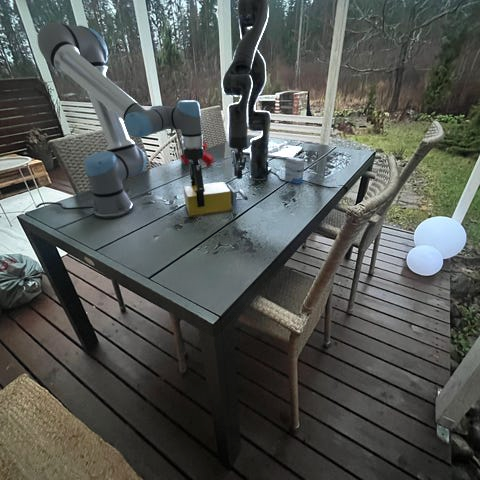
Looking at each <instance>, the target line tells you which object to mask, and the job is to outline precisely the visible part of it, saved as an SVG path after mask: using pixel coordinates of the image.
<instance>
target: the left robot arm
mask: <svg viewBox="0 0 480 480" xmlns="http://www.w3.org/2000/svg"><path fill="white" fill-rule="evenodd" d="M37 45H38V49H39V51H40V53H41V55H42V56H43V58H44V60H46V62H47V63H48V64H49V65H50V66H51V67H53V68H54V69H55V70H56V71H57V72H58V73H60V74H62V75H67V76H68V77H69V78H71V79H72V80H73V81H74V82H76V83H77V85H79V86H80V87H82V88H83V89H84V90H85V91H86V93H87V96H88V98H89V100H90V103H91V105H92V107H93V110H94V112H95V115H96V117H97V120H98V123H99V124H100V127H101V130H102V132H103V134H104V137H105V139H106V142H107V147H106V150H103V151H99V152H94V153H92V154H89V155H88V156H86V157H85V158H84V161H83V166H84V169H85V170H84V171H85V174H86V176H87V179H88V183H89V185H90V188H91V192H92V195H93V205H89V206H74V207H73V206H72V207H65V206H64V204H63V203H61V202H55V201H53V202H52V201H45V202H41V203H39V204H37V205H36V206H35V209H39V208H40V207H41V206H43V205H44V206H45V205H57V206H58V205H59V206H60V207H61V209H63V210H70V211H71V210H80V209H81V210H82V209H83V210H84V209H93V213H94V216H95V217H96V218H98V219H103V220H104V219H105V220H109V219H116V218H120V217H124V216H126V215H128V214H130V213H131V212H132V211H133V210H134V206H133V202H132V201H131V199H130V198H129V197H128V195H127V192H126V191H125V188H124V185H123V182H125V181H127V180H129V179H131V178H133V177H136V176H138V175H140V174H141V173H143V172H144V170H145V169H146V167H147V156H146V154H145V152H144V151H143V149H141V148H140V147H139V146H137V145H136V143H135V141H134V140H132V139H131V138H130V136H131V137H133V138H137V139H140V138H144V137H150V136H151V135H153V134H157V133H159V132H163V131H166V130H180V135H181V138H180V142H181V143H182V147H183V148H182V152H183V153H184V158H185V159H188V160H189V163H188V167H189V168H188V169H189V171H188V172H189V178H190V186H193V185H196V189H197V191H195V193H196V195H197V204H198V207H203V206H205V204H204V191H205V190H204V184H205V183H204V178H203V170H202V164H201V162H200V160H202V159H201V158H203V157H204V152H203V147H202V146H203V140H204V139H203V131H202V130H203V129H202V113H201V107H200V103H199V102H198V101H197V100H194V99H190V100H189V99H188V100H179V101H178V102H177V106H170V105H169V106H167V105H152V106H151V107H150V108H148V109H146V108H145V107H144V106H142V105H141V104H140V103H139V102H137V101H136V100H135V99H133V97H131V96H130V95H129V94H127V92H125V90H123V89H121V88H120V87H119V86H118V85H117V84H116V83H114V82H113V81H112V80H111V79H110V78H109V77H107V75H106V72H107V70H108V66H107V64H106V63H107V62H108V56H109V50H108V47H107V44H106V42H105V40H104V38H103V37H102V36H101V35H100V34H99V33H98V32H97V31H96V30H94V29H93V28H91V27H87V26H85V25H80V24H79V25H74V24H69V23H68V24H67V23H60V22H48V23H46V24H45V23H44V25H42V26H41V28H40V29H39V31H38V33H37ZM129 135H130V136H129ZM199 159H200V160H199Z"/></svg>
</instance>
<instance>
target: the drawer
mask: <svg viewBox="0 0 480 480" xmlns="http://www.w3.org/2000/svg"><path fill="white" fill-rule="evenodd" d="M226 186H227V187H228V189H229V190H230V191H231V207H232V208H233V209H237V201H242V200H244V201H248V200H249V197H248V196H247V195H246V194H245V193H244V191H243V190H242V189H239V190H235V189H234V188H233V187H232V185H230V183H226ZM237 194H239V195H240V196H241V197H238V198H237Z"/></svg>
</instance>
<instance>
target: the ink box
mask: <svg viewBox="0 0 480 480" xmlns="http://www.w3.org/2000/svg"><path fill="white" fill-rule="evenodd" d="M305 162H306V159H304V158H299V157H296V156H294V157H289V158H287V159H286V158H285V169H284V180H285V181H284V182H289V183H293V184H295V185H298V184H300V183H302V182H304V181H303V180H304V173H305V171H304V170H305Z"/></svg>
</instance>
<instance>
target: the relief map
mask: <svg viewBox="0 0 480 480" xmlns="http://www.w3.org/2000/svg"><path fill="white" fill-rule="evenodd" d="M302 147H303V146H294V145H292V144H290V143H289V142H288V141H284V142H282V143H280V144H279V143H278V142H276V141H273V140H272V139H271V138H269V145H268V157H271V158H277V159H285V160H286V159H287V158H289V157H296V156H297V155H298V154H299V153H300V152H302V151H303V150H304V148H303V149H302ZM250 148H251V145H250V146H249V147H248V148H247V149H245V150H243V152H244V154H247V155H248V154H249V155H250ZM296 153H297V154H296Z"/></svg>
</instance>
